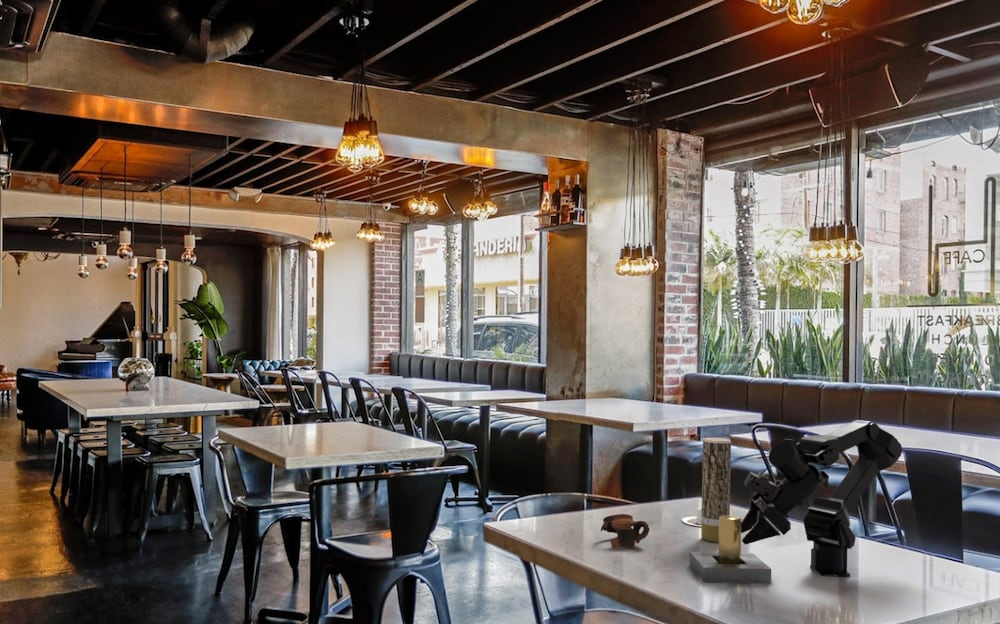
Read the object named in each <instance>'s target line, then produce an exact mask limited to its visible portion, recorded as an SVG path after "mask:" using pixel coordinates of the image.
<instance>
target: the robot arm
mask: <svg viewBox="0 0 1000 624" xmlns="http://www.w3.org/2000/svg"><path fill="white" fill-rule="evenodd" d="M854 447H857V456H858V458H857V460H856V461H855V463H854V464H853V465H852V466H851V468H850V469H849V470H848V472H847V473H846V475H845V476H844V478H843V479H842V480H841V481H840V483H839V485H838V486H837V487H836V488H835V490H834V491H833V492H832V494H831V495H830V496H829V497H828V498H824V497H823V498H822V497H816V498H815V499H814V501H813V503H812V504H811V505H810V506H809V507H807V512H806V514H805V515H804V517H803V525H804V526H803V527H804V530H805V532H804V533H805V535H806V541H808V542H813V546H812V548H811V549H810V565H809V567H810V568H811V569H812V570H813V571H815V572H816V573H817V574H818V575H820V576H826V575H837V577H839V576H840V577H851V573H850V572H849V571H848V550H850V549H852V548H853V547H855V544H856V543H855V542H856V535H855V534H854V532H853V531H852V529H851V527H850V526H851V520H850V512H851V511H852V510H853V509H854V507H855V506H856V505H857V503H858V501H859V499H861V497H862V496H863V495H864V493H865V491H866V490H867V489H868V488H869V486H870V484H871V483H872V482H873V480H874V478H875V477H876V476H877V475H878V473H879V472H881V471H884V470H887V469H888V468H891V467H892V466H893V465H895V464H896V462H897V461H899V459H900V457H901V455H902V452H903V446H902V444H901V443H900V441H899V440H898V439H897V437H895V436H894V435H893V434H892V433H890V432H888V431H886V430H885V429H883V428H881V427H880V426H879V425H878V424H877V423H876V422H873V421H869V420H860V419H856V420H853V421H851V423H850V424H847V425H845V426H843V427H840V428H838V429H835V430H833V431H832V432H829V433H826V434H821V435H808V436H803V437H801V438H800V439H799V440H798V442H796V441H795V440H794V439H790V438H784V439H783V442H782V443H779V444H777V445H775V446H774V447H773V448H772V449H770V451H769V454H768V460H769V463H770V464H771V465H772V466H773V467H774V468H775V469H776V470H777V471H778V473H780V474H781V476H782V477H784V478H783V479H782V480H781V479H776V480H775V481H774V482H772V480H771V481H770V478H769V477H766V476H765V475H764V474H760V475H759V474H757V473H755V472H752V471H749V472H748V474H747V476H746V478H744V479H745V480H744V481H743V485H744V487H745V488H746V489H748V490H750V491H753V492H752V493H751V494H750V495H749V496H750V497H749V510H748V512H747V513H746V515H745V516H744V518H743V519H742V520H741V534H743V533H746V532H747V533H746V534H745V535H744V537H743V538H741V543H743V544H744V545H748V544H752V543H756V542H760V541H763V540H765V539H771V538H773V537H780V536H781V535H782V536H785V535H786V534H787V533H788V532H789V531H790V530H791V529H792V528H791V527H792V526H791V521H790V520H789V514H790V513H791V512H792V511H794V510H795V508H797V507H802V506H803V505H804V503H803V501H805V499H807V497H809V495H811V494H812V493H813V492H815V490H817V488H819V487H820V486H822V487H824V488H825V489H828V488H829V484H830V483H829V478H830V476H829V474H828V473H827V472H825V471H824V470H819V469H818V467H816V466H820V467H827V468H828V467H831V466H832V465H834V464H836V462H837V461H839V460H840V454H841V453H844V452H845V451H847V450H850V449H852V448H854Z"/></svg>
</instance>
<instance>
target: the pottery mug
mask: <svg viewBox="0 0 1000 624" xmlns="http://www.w3.org/2000/svg"><path fill="white" fill-rule="evenodd" d="M633 518H634V517H633V515H630V514H628V513H619V514H611V515H608V516H605V517H604V518H603V519H602V522H603V524H602V525H601V528H600V532H603V531H604V532H607V533H613V534H616V535H617V536H616V537H612V538H610V539H609V541H610V546H611V548H612V547H617V548H630V549H631V548H632V549H635V548H636V547H635V545H636V544H640V542H641V541H642V540H645V538H646V537H648V534H649V533H650V527H649V524H648V523H647V522H646V521H645V520H638V521H635V520H633ZM641 528H643V530H642V532H641V533H640V530H641Z"/></svg>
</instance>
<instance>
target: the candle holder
mask: <svg viewBox="0 0 1000 624" xmlns="http://www.w3.org/2000/svg"><path fill="white" fill-rule="evenodd" d="M691 519H692V520H696V524H694V523H692V522H691V523H690V522H688V521H691ZM681 521H682V522H683V523H685V524H687V525H689V526H690V525H691V526H695V527H702V506H700V507H697V510H696V516H686V517H683V518H681ZM698 523H699V524H698Z"/></svg>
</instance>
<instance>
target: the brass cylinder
mask: <svg viewBox="0 0 1000 624" xmlns="http://www.w3.org/2000/svg"><path fill="white" fill-rule="evenodd" d="M741 522H742V518H741V517H739V516H736V515H734V516H733V515H730V516H720V517H719V542H718V552H719V556H718V563H719V564H741V553H742V552H741V551H742V549H741V548H742V533H741Z"/></svg>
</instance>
